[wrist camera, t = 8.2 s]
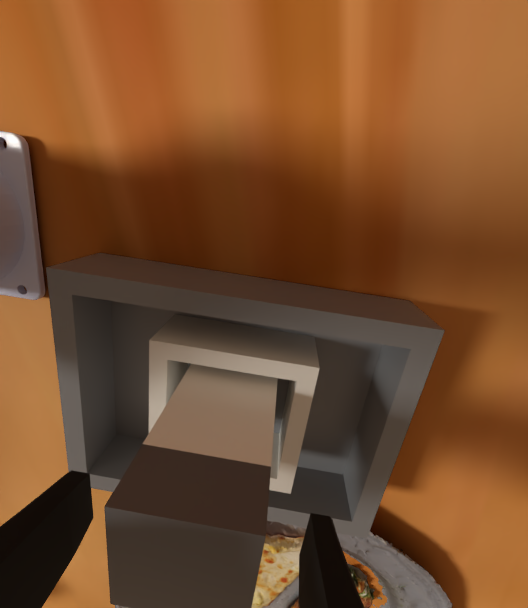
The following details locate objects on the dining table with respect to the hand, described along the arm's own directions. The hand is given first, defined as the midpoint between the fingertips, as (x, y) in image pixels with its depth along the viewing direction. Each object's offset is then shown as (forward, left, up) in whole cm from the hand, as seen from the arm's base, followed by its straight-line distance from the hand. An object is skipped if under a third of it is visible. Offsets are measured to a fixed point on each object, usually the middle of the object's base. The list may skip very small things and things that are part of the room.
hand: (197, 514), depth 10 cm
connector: (0, 0, -7) cm, 7 cm away
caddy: (0, 0, -8) cm, 8 cm away
